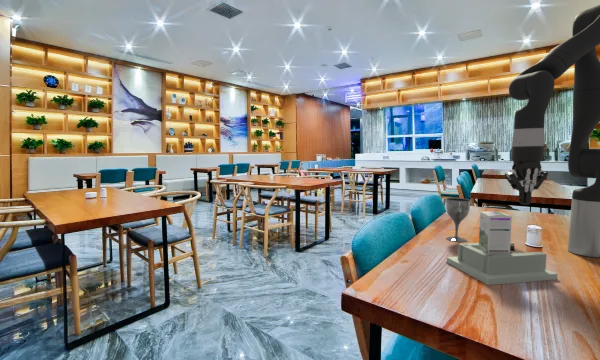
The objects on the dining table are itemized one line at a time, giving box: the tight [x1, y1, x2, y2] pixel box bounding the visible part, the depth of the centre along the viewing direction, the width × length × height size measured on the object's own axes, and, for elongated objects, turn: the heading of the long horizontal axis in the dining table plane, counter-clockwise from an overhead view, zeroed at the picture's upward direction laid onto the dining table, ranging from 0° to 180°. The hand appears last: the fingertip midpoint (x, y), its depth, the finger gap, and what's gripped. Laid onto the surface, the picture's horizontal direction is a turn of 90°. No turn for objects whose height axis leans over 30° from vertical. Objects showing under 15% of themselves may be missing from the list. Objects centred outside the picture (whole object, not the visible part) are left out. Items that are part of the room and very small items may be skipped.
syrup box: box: [478, 210, 513, 255], centre depth 85 cm, size 6×6×14 cm
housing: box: [446, 241, 559, 286], centre depth 86 cm, size 20×16×6 cm
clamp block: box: [510, 245, 528, 254], centre depth 87 cm, size 4×7×5 cm, turn 10°
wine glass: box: [445, 197, 471, 243], centre depth 116 cm, size 8×8×15 cm
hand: (524, 204), depth 93 cm, fingers closed
